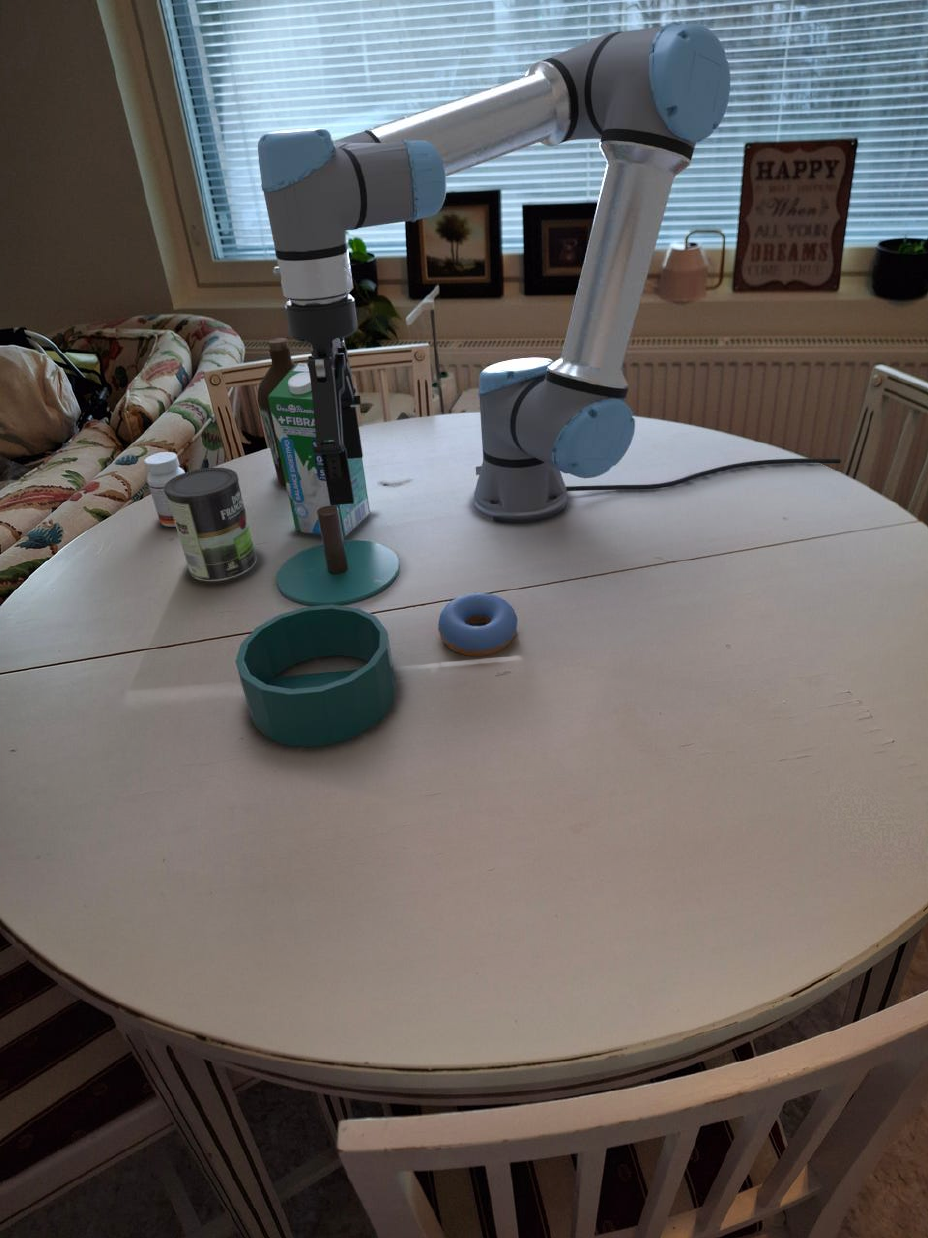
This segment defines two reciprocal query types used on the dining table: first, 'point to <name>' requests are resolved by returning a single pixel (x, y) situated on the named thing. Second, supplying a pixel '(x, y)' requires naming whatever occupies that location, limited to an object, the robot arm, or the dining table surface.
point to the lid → (337, 567)
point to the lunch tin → (316, 675)
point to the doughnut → (477, 637)
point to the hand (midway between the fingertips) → (347, 479)
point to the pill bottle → (162, 482)
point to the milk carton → (309, 457)
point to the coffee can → (211, 523)
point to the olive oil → (268, 384)
